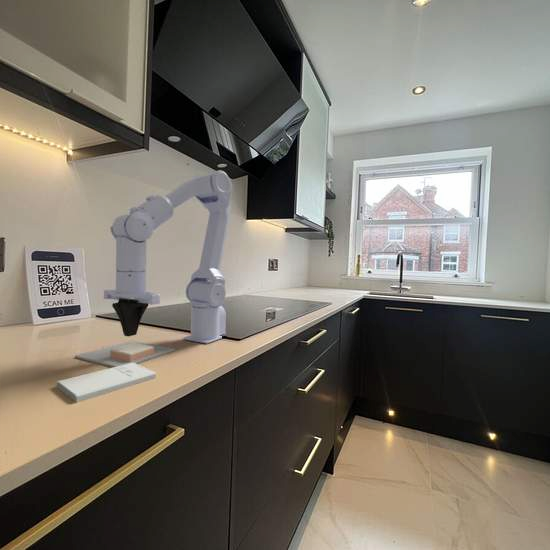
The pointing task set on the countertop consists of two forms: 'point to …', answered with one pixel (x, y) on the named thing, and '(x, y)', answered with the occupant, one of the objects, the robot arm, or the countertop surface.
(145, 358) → the mat
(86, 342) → the countertop surface
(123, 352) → the tile
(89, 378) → the external hard drive
